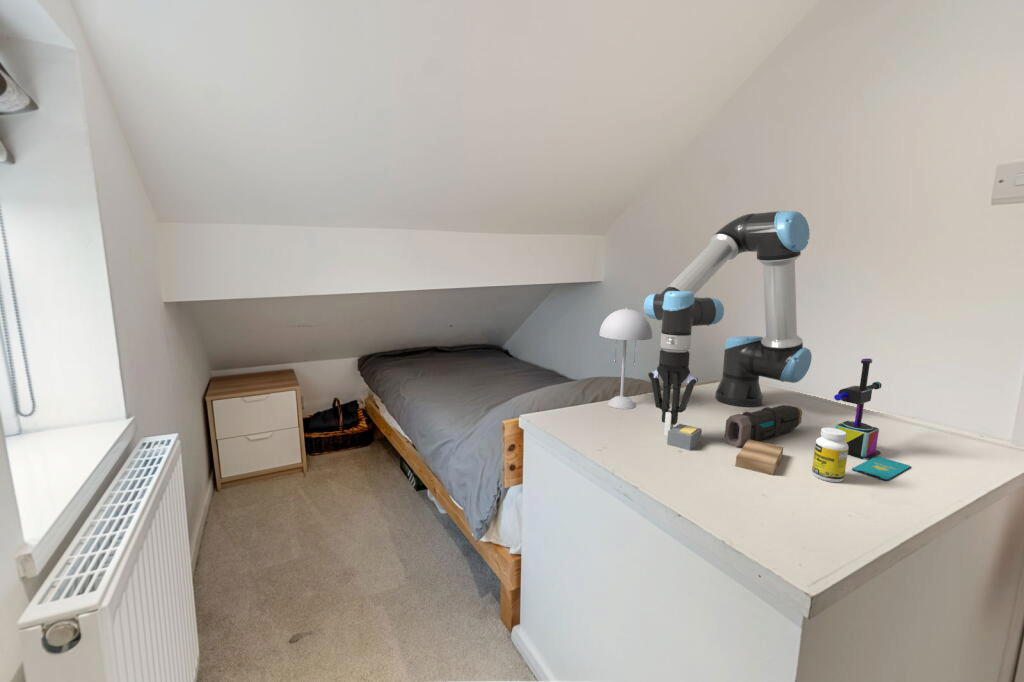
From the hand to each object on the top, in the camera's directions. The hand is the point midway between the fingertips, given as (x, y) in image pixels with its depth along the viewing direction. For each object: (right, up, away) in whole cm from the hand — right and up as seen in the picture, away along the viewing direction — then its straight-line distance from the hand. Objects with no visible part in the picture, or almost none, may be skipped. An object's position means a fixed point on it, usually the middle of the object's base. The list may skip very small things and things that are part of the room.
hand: (668, 434), depth 130 cm
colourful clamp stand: (+51, -3, -3) cm, 51 cm away
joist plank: (+18, -4, -13) cm, 23 cm away
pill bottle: (+29, -6, -21) cm, 37 cm away
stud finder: (+3, -2, -2) cm, 5 cm away
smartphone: (+46, -5, -16) cm, 49 cm away
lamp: (-6, +4, +31) cm, 32 cm away
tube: (+28, -2, +4) cm, 29 cm away
